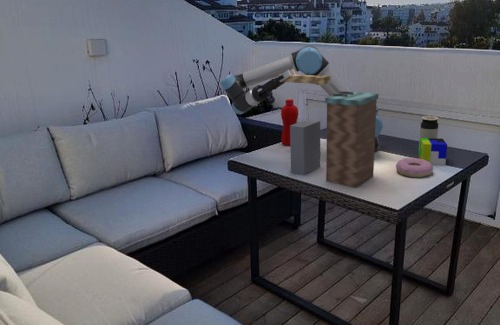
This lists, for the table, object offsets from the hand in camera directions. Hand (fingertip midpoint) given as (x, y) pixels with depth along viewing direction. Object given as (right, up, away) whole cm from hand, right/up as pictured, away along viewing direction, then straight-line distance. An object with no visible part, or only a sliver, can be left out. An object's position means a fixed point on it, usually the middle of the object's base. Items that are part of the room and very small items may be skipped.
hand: (291, 72), depth 194 cm
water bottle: (+4, -29, +52) cm, 60 cm away
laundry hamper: (+25, -47, -4) cm, 53 cm away
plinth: (+7, -43, +10) cm, 45 cm away
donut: (+54, -45, 0) cm, 70 cm away
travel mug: (+69, -35, +24) cm, 82 cm away
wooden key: (+4, -5, -2) cm, 7 cm away
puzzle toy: (+67, -40, +12) cm, 79 cm away
